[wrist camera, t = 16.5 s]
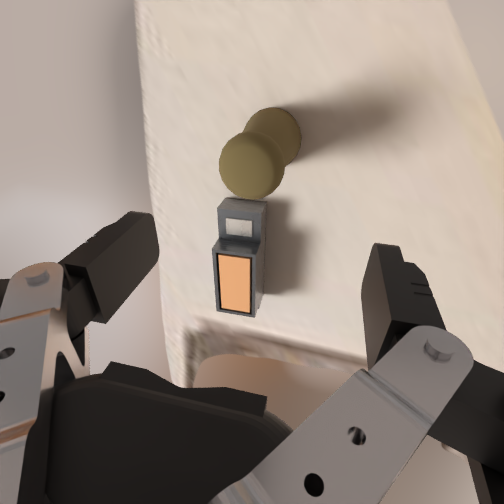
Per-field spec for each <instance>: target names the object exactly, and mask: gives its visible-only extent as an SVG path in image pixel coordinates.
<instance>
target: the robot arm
mask: <svg viewBox="0 0 504 504" xmlns="http://www.w3.org/2000/svg"><path fill="white" fill-rule="evenodd" d="M158 258H159V244H158V238H157V233H156V227H155V222H154V218H153V216H152V215H151V214H149V213H142V212H135V211H130V212H128V213H127V214H126V215H124V216H123V217H122V218H120V219H119V220H118V221H117V222H115V223H113V224H111V225H108V226H106V227H104V228H102V229H101V230H100V231H98V232H97V233H96V234H95V235H94V237H91V238H89V239H88V240H87V241H86V243H83V244H82V245H80V246H79V247H78V248H77V249H75V250H74V251H73V252H71V253H70V254H69V255H67V256H66V257H65V258H64V259H62V260H61V261H60V262H58V263H54V262H43V263H38V264H34V265H31V266H28V267H26V268H24V269H22V270H20V271H18V272H17V273H16V274H14V275H13V276H12V278H11V279H0V504H379V503H380V502H381V501H382V499H383V498H384V496H385V495H386V493H387V492H388V490H389V489H390V487H391V486H392V484H393V483H394V482H395V480H396V479H397V477H398V476H399V474H400V473H401V471H402V470H403V469H404V467H405V466H406V464H407V463H408V461H409V460H410V458H411V457H412V456H413V454H414V453H415V451H416V450H417V448H418V447H419V445H420V444H421V443H422V441H423V440H424V438H425V437H426V435H429V436H431V437H433V438H435V439H436V440H438V441H440V442H442V443H444V444H446V445H448V446H450V447H452V448H453V449H455V450H457V451H459V452H461V453H463V454H465V455H467V458H468V462H469V466H470V469H471V473H472V477H473V481H474V485H475V489H476V492H477V496H478V500H479V504H504V373H503V372H500V371H498V370H495V369H493V368H490V367H488V366H485V365H483V364H481V363H479V362H477V361H475V360H473V356H472V353H471V352H470V350H469V348H468V347H467V346H466V345H465V344H464V343H463V342H462V341H461V340H460V339H459V338H457V337H456V336H455V335H453V334H451V333H449V332H448V331H447V330H446V328H445V325H444V322H443V320H442V317H441V315H440V312H439V309H438V307H437V304H436V302H435V299H434V297H433V294H432V291H431V289H430V287H429V284H428V281H427V278H426V276H425V274H424V273H423V272H422V271H421V270H420V269H419V268H418V267H417V266H416V265H415V264H414V263H409V262H404V260H403V256H402V253H401V250H400V247H399V246H395V245H388V244H380V243H374V245H373V247H372V250H371V253H370V257H369V260H368V264H367V268H366V271H365V275H364V278H363V282H362V289H361V300H362V311H363V321H364V331H365V342H366V352H367V362H368V372H367V371H366V370H364V369H360V370H358V371H357V372H356V373H354V374H353V375H352V376H351V377H350V378H349V379H348V380H347V381H346V382H345V383H344V384H343V385H342V386H341V387H340V388H339V389H338V390H336V391H335V392H334V393H333V394H332V395H331V396H330V397H329V398H328V399H327V400H326V401H325V402H324V403H323V404H322V405H321V406H320V407H319V408H318V409H316V410H315V411H314V412H313V413H312V414H311V415H310V416H309V417H308V418H307V419H306V420H305V421H304V422H303V423H302V424H301V425H300V426H299V427H298V428H296V429H295V430H294V431H293V430H292V428H291V427H289V426H288V425H287V424H286V423H285V422H284V421H283V420H281V419H280V418H278V417H277V416H276V415H274V414H272V413H271V412H269V411H267V410H266V404H267V396H263V395H258V394H253V393H249V392H245V391H240V390H236V389H232V388H227V387H215V388H214V387H213V388H181V387H178V386H176V385H174V384H172V383H170V382H169V381H167V380H165V379H163V378H161V377H160V376H158V375H156V374H154V373H152V372H151V371H149V370H147V369H143V368H139V367H134V366H130V365H125V364H121V363H117V362H112V361H111V362H110V363H109V365H108V366H107V368H106V369H105V370H104V372H103V373H102V374H94V375H90V367H89V366H90V365H89V364H90V361H89V331H88V328H87V325H88V323H89V322H90V321H94V322H99V323H104V324H106V323H107V322H108V321H109V319H110V318H111V317H112V316H113V315H114V313H115V312H116V311H117V310H118V309H119V307H120V306H121V305H122V304H123V303H124V301H125V300H126V299H127V298H128V297H129V295H130V294H131V293H132V292H133V291H134V289H135V288H136V287H137V286H138V285H139V283H140V282H141V281H142V280H143V279H144V277H145V276H146V275H147V274H148V273H149V271H150V270H151V269H152V268H153V267H154V265H155V264H156V263H157V261H158Z"/></svg>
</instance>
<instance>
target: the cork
mask: <svg viewBox="0 0 504 504" xmlns="http://www.w3.org/2000/svg"><path fill="white" fill-rule="evenodd" d="M300 145H301V133H300V127H299V126H298V124H297V122H296V120H295V119H294V118H293V117H292V116H291V115H290V114H289V113H288V112H286V111H284V110H282V109H279V108H266V109H263V110H260V111H258V112H257V113H256V114H254V115H253V116H252V117H251V118H250V120H249V121H248V123H247V124H246V126H245V128H244V130H243V132H242V133H239V134H238V135H236V136H235V137H233V138H232V139H230V140H229V141H228V142H227V144H226V145H225V146H224V148H223V149H222V153H221V156H220V159H219V172H220V175H221V178H222V181H223V182H224V184H225V185H226V187H227V188H228V189H229V190H230V191H231V192H233V193H234V194H235V195H237V196H239V197H242V198H244V199H251V200H255V199H260V198H263V197H265V196H267V195H269V194H271V193H272V192H273V191H274V190H275V189H276V188H277V187H278V186H279V185H280V182H281V180H282V178H283V175H284V170H285V167H286V166H287V165H288V164H289V163H290V162H291V161H292V160H293V159H294V157H295V156H296V155H297V153H298V151H299V149H300Z"/></svg>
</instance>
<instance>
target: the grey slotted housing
mask: <svg viewBox="0 0 504 504" xmlns="http://www.w3.org/2000/svg"><path fill="white" fill-rule="evenodd" d="M266 203H267V202H261V201H251V200H241V199H231V198H225V199H224V200H223V202H222V203H221V204H220V205H219V207H218V208H217V212H218V229H219V239H218V240H217V242H216V244H215V245H214V247H213V248H212V256H213V269H214V282H215V295H216V309H217V311H219V312H225V313H230V314H236V315H242V316H248V317H254V318H255V316H256V312H257V309H259V307H260V303H261V300H262V297H263V288H264V260H265V232H266ZM219 253H223V254H230V255H238V256H245V257H252V307H251V310H250V313H249V312H243V311H238V310H232V309H226V308H222V304H221V288H220V272H219V256H218V255H219Z"/></svg>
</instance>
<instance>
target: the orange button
mask: <svg viewBox="0 0 504 504" xmlns="http://www.w3.org/2000/svg"><path fill="white" fill-rule="evenodd" d="M218 256H219V272H220V288H221V304H222V308H226V309H232V310H238V311H243V312H249V313H250V310H251V307H252V257H245V256H238V255H230V254H223V253H219V255H218Z"/></svg>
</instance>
